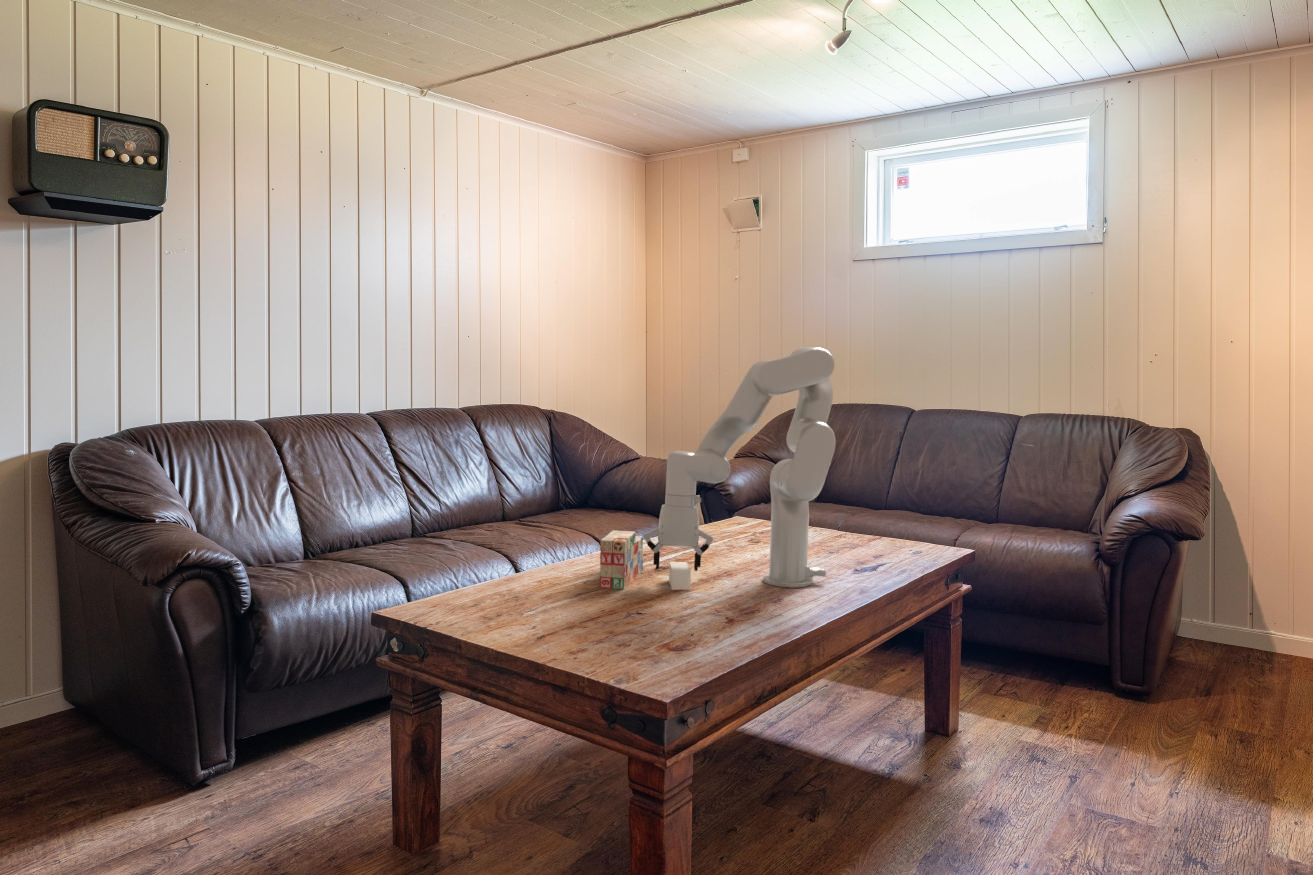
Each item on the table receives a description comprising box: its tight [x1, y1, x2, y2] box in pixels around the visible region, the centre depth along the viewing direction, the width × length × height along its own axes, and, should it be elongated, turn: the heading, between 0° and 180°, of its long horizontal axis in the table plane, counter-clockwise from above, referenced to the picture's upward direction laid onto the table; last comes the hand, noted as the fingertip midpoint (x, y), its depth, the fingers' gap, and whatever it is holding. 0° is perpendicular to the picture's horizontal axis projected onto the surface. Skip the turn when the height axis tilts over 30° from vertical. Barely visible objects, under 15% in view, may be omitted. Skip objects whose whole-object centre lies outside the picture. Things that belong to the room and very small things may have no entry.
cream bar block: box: [668, 561, 692, 591], centre depth 218 cm, size 4×9×5 cm, turn 4°
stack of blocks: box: [599, 529, 644, 591], centre depth 223 cm, size 21×6×12 cm, turn 168°
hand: (676, 568), depth 218 cm, fingers open, 9 cm apart
